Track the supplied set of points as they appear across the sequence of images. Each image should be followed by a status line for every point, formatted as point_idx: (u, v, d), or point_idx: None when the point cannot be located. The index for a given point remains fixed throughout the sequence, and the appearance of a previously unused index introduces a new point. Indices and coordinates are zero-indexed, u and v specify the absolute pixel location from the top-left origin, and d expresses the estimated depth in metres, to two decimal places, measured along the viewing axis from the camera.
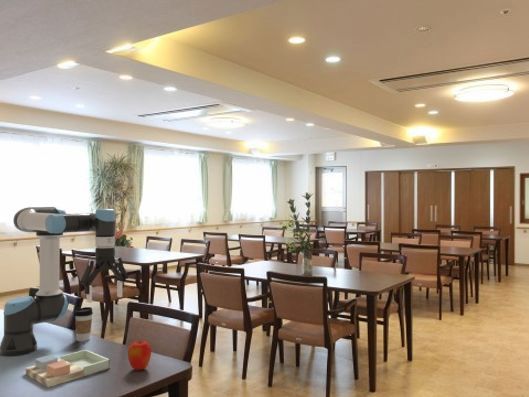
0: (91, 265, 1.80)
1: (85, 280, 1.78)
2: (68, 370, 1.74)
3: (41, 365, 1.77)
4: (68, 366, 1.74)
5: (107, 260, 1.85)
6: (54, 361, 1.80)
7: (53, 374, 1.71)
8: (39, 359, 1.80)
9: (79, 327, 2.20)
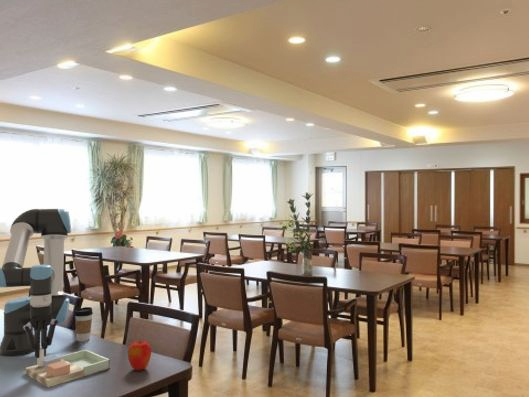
0: (28, 330, 1.74)
1: (32, 345, 1.76)
2: (68, 370, 1.74)
3: (44, 364, 1.78)
4: (68, 366, 1.74)
5: None
6: (57, 360, 1.81)
7: (53, 374, 1.71)
8: None
9: (79, 327, 2.20)
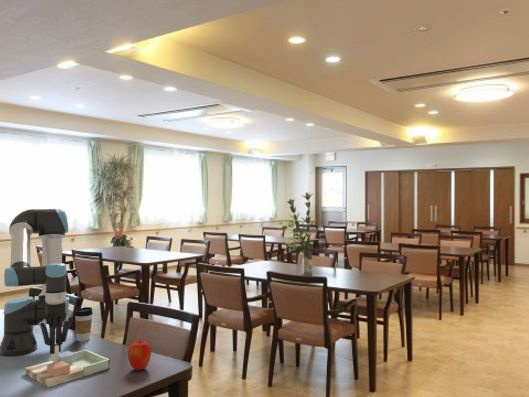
0: (43, 327, 1.79)
1: (48, 341, 1.80)
2: (68, 370, 1.74)
3: (59, 360, 1.83)
4: (68, 366, 1.74)
5: None
6: (72, 356, 1.86)
7: (53, 374, 1.71)
8: None
9: (79, 327, 2.20)
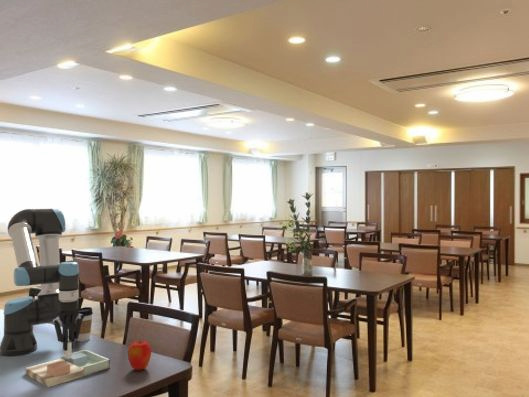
0: (57, 324, 1.83)
1: (61, 338, 1.84)
2: (68, 370, 1.74)
3: (72, 362, 1.87)
4: (68, 366, 1.74)
5: None
6: (84, 358, 1.90)
7: (53, 374, 1.71)
8: None
9: None
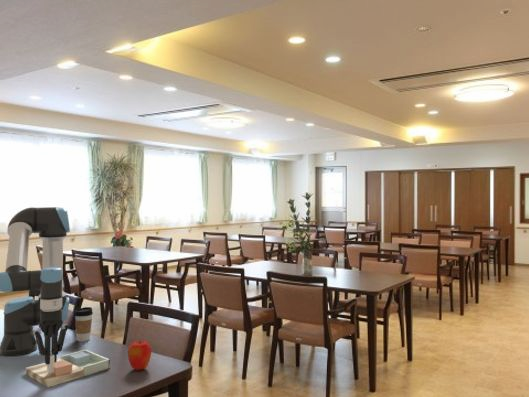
0: (38, 336, 1.68)
1: (42, 351, 1.69)
2: (70, 369, 1.75)
3: (75, 361, 1.88)
4: (70, 365, 1.75)
5: None
6: (87, 357, 1.91)
7: (55, 373, 1.71)
8: (73, 355, 1.90)
9: (79, 327, 2.20)
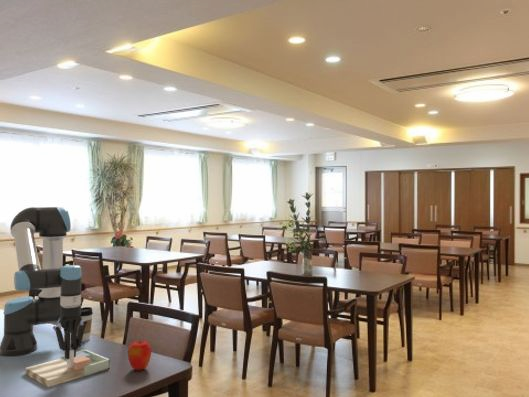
0: (58, 331, 1.73)
1: (63, 346, 1.75)
2: (89, 364, 1.81)
3: None
4: (89, 360, 1.81)
5: None
6: (87, 357, 1.91)
7: (75, 368, 1.77)
8: None
9: None
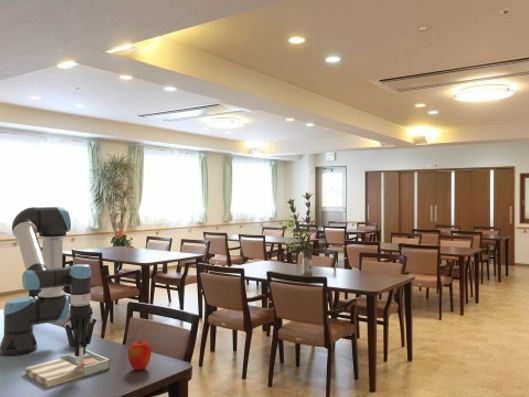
0: (68, 329, 1.76)
1: (73, 343, 1.78)
2: None
3: (75, 361, 1.88)
4: None
5: None
6: (87, 357, 1.91)
7: None
8: (73, 355, 1.90)
9: None
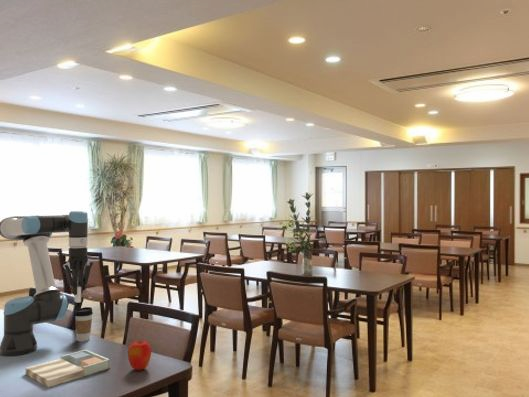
0: (67, 269, 1.92)
1: (71, 282, 1.94)
2: None
3: (75, 361, 1.88)
4: None
5: None
6: (87, 357, 1.91)
7: None
8: (73, 355, 1.90)
9: (79, 327, 2.20)
